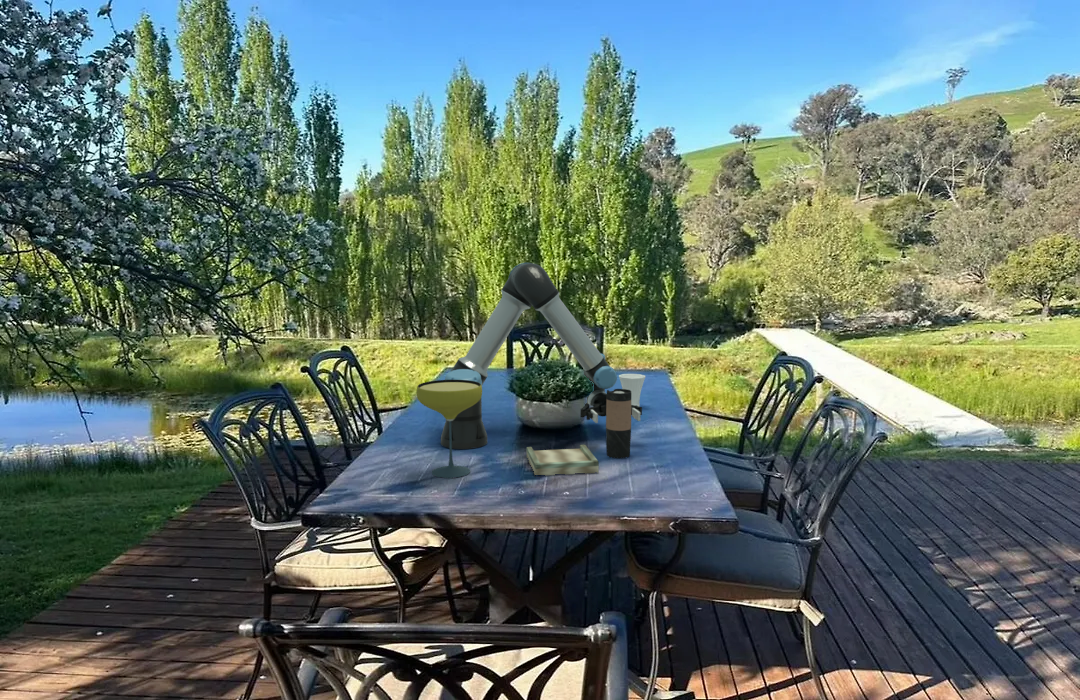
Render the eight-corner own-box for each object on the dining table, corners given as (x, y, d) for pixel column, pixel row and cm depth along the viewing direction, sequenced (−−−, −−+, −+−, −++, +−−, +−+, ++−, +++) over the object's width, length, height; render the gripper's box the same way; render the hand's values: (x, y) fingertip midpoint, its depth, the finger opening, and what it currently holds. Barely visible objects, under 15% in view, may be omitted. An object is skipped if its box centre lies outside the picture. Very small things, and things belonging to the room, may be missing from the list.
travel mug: (629, 459, 206) (630, 393, 204) (604, 458, 208) (605, 393, 205) (631, 452, 214) (632, 389, 211) (606, 451, 215) (607, 388, 212)
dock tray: (535, 475, 191) (535, 464, 190) (526, 457, 208) (526, 447, 208) (598, 472, 194) (598, 461, 193) (584, 454, 211) (584, 444, 211)
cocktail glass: (487, 480, 187) (486, 389, 184) (419, 484, 184) (417, 392, 180) (479, 461, 205) (478, 378, 201) (417, 464, 201) (415, 380, 198)
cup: (617, 411, 269) (618, 377, 268) (619, 406, 280) (619, 373, 278) (644, 412, 268) (645, 378, 266) (645, 407, 278) (645, 374, 276)
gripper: (636, 412, 236) (656, 427, 215) (564, 415, 232) (578, 431, 211) (636, 391, 235) (657, 404, 214) (564, 393, 231) (578, 407, 210)
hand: (618, 417), depth 213 cm, fingers open, 13 cm apart
